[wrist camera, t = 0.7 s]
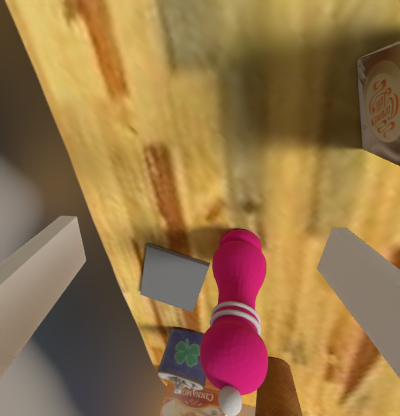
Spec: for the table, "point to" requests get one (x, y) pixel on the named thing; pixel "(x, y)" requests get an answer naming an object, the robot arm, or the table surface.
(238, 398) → the pepper mill
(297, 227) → the table surface
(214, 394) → the coffeecake box
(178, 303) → the charcoal mat
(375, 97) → the coffee box
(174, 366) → the flask
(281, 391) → the disposable coffee cup
